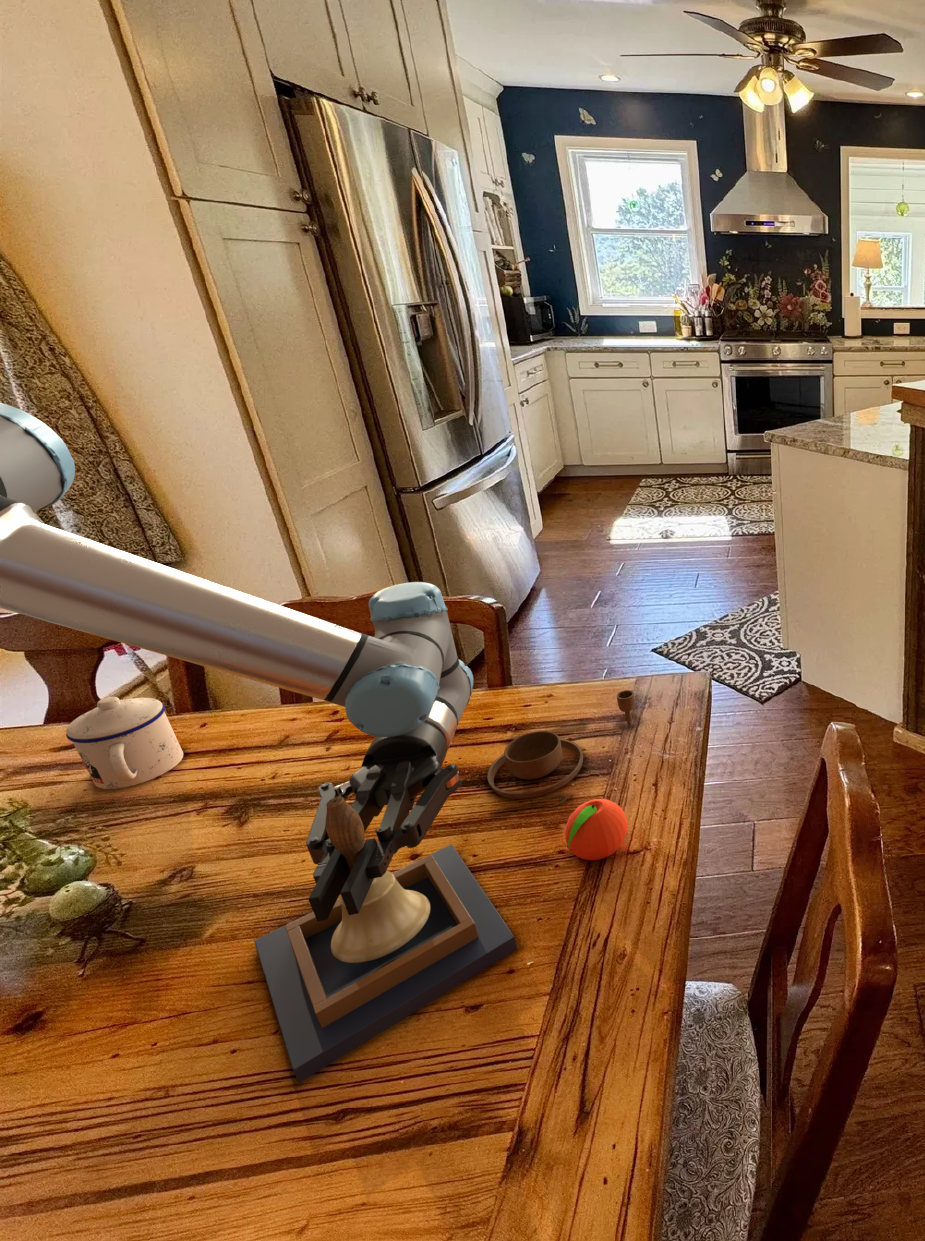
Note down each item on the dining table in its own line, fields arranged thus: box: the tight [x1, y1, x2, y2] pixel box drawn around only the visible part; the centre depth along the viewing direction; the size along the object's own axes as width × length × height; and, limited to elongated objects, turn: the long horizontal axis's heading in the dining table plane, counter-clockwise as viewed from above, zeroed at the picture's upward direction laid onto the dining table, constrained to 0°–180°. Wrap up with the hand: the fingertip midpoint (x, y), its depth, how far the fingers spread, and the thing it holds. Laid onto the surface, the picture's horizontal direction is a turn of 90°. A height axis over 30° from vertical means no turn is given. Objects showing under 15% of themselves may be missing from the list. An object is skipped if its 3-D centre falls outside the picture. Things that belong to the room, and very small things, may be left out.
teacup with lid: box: [65, 696, 184, 790], centre depth 92 cm, size 12×9×12 cm
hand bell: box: [326, 797, 430, 963], centre depth 67 cm, size 8×8×16 cm
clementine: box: [564, 798, 628, 861], centre depth 84 cm, size 8×7×7 cm
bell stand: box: [254, 843, 518, 1083], centre depth 71 cm, size 18×18×4 cm
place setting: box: [487, 689, 636, 808], centre depth 98 cm, size 18×20×6 cm
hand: (334, 906), depth 62 cm, fingers closed on hand bell, 2 cm apart
